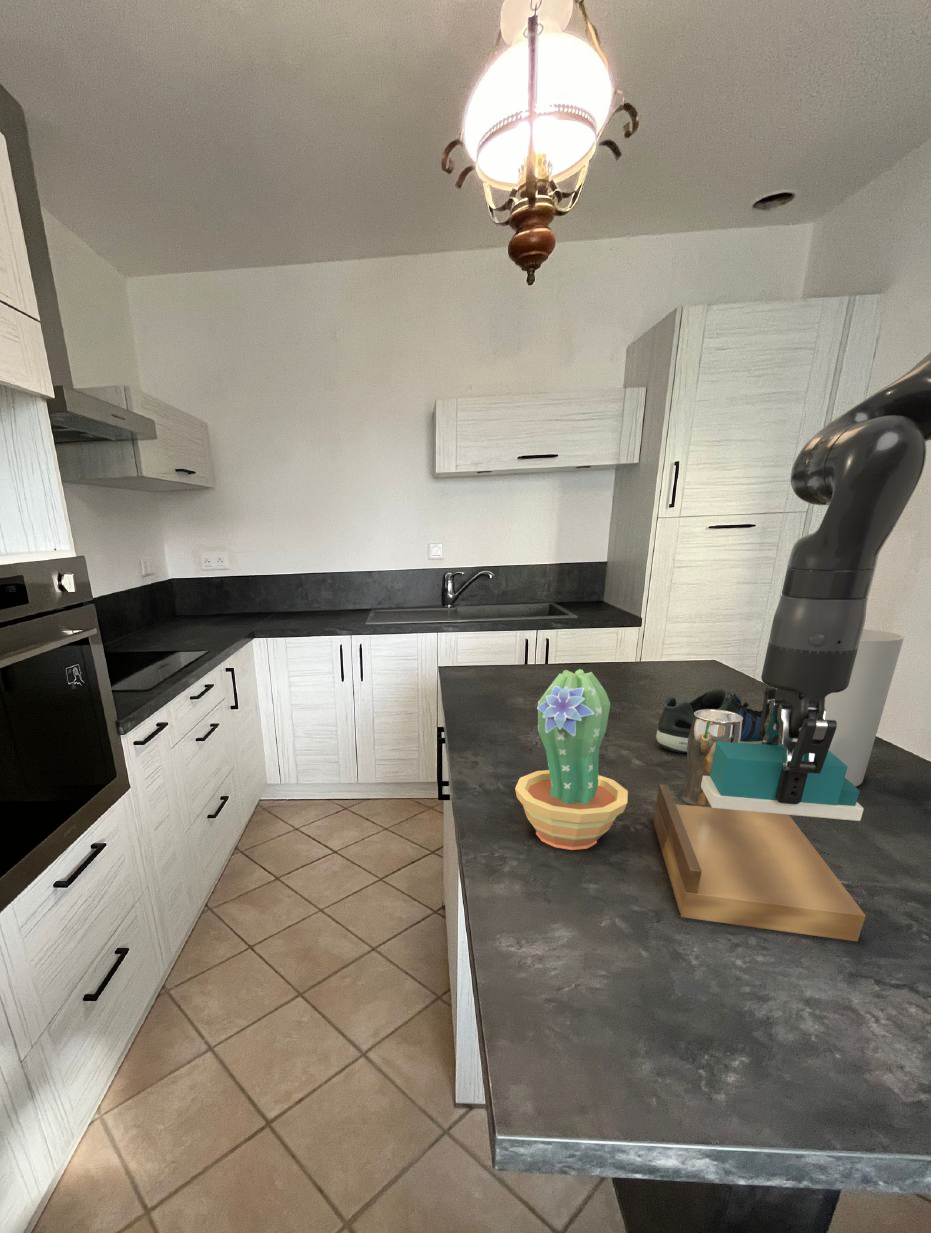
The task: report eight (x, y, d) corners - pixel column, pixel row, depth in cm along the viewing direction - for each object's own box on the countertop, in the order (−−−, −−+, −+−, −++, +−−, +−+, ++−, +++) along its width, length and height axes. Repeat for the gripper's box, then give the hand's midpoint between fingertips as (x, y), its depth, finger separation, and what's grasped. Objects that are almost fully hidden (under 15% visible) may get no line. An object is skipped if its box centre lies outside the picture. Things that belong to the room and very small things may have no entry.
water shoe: (808, 745, 118) (822, 688, 114) (683, 763, 112) (693, 704, 108) (763, 729, 128) (775, 677, 124) (646, 745, 121) (653, 690, 117)
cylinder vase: (818, 795, 97) (858, 643, 88) (757, 767, 109) (786, 630, 100) (881, 786, 99) (925, 637, 91) (814, 760, 111) (848, 625, 102)
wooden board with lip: (782, 839, 85) (793, 794, 82) (856, 946, 63) (873, 891, 61) (652, 826, 90) (659, 784, 87) (680, 922, 68) (690, 869, 66)
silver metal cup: (706, 816, 92) (723, 725, 86) (668, 799, 98) (682, 712, 92) (736, 807, 94) (755, 717, 89) (697, 791, 100) (713, 706, 95)
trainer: (836, 797, 68) (850, 748, 66) (860, 821, 62) (875, 768, 60) (700, 786, 72) (709, 740, 70) (711, 808, 67) (721, 758, 64)
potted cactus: (492, 827, 91) (498, 667, 82) (573, 807, 96) (587, 655, 87) (557, 877, 78) (574, 693, 69) (647, 851, 83) (674, 676, 74)
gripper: (891, 656, 53) (844, 823, 59) (828, 630, 66) (794, 769, 72) (794, 654, 55) (758, 815, 61) (751, 629, 68) (724, 764, 74)
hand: (777, 790), depth 67 cm, fingers closed on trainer, 5 cm apart
